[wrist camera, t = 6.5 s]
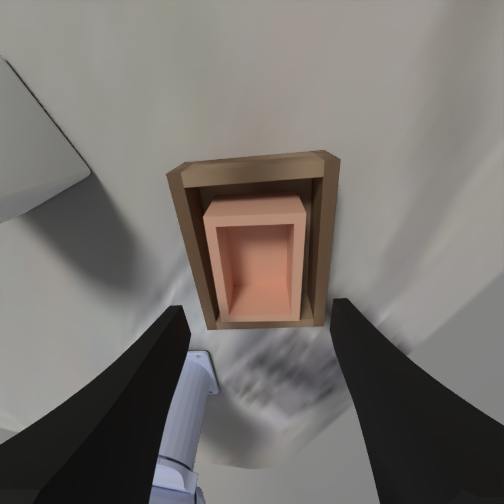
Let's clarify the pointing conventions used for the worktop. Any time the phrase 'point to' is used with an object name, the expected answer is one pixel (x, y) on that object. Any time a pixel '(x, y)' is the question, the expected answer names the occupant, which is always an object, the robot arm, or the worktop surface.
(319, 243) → the big crate
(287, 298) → the small crate
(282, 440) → the worktop surface
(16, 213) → the medicine bottle
